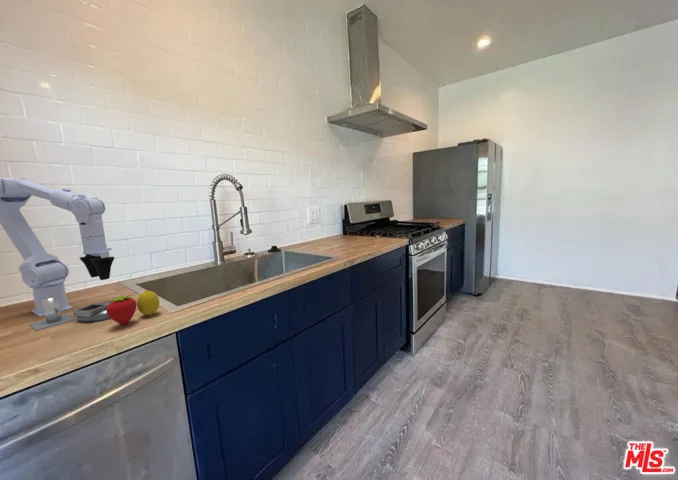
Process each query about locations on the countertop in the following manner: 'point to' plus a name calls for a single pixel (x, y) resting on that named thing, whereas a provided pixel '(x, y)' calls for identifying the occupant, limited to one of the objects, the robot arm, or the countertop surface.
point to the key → (51, 309)
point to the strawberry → (121, 309)
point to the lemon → (148, 303)
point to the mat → (44, 325)
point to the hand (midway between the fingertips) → (100, 278)
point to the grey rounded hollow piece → (92, 312)
